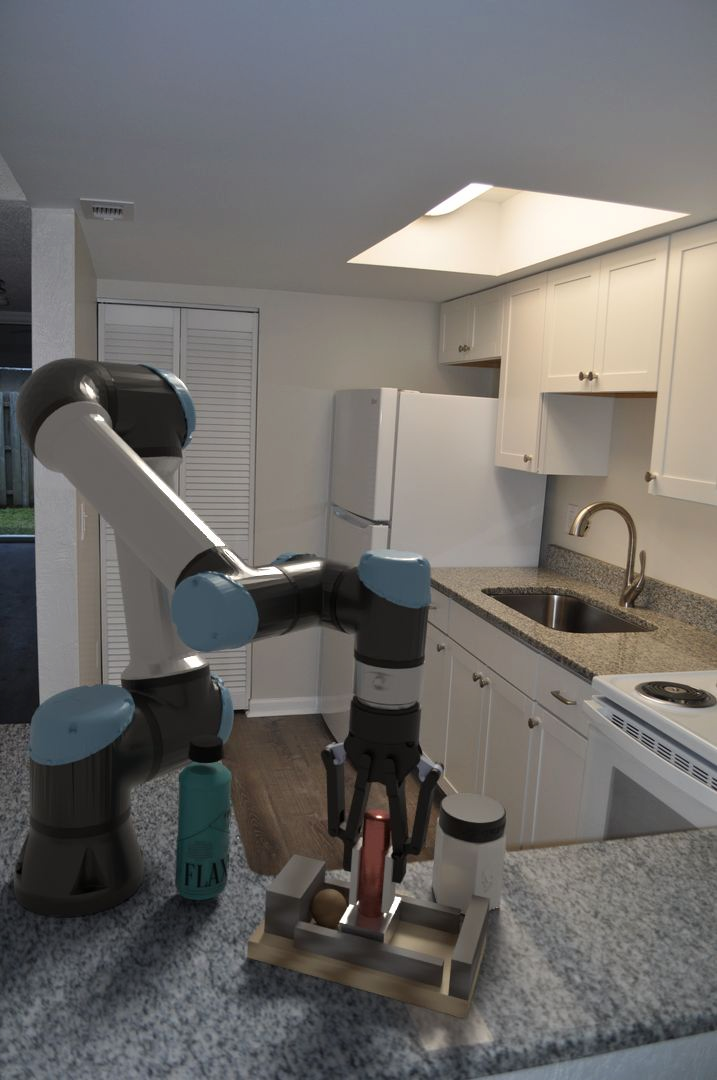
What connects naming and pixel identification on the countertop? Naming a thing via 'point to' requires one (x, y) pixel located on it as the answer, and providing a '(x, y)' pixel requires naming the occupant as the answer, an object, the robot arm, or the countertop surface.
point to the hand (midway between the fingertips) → (371, 901)
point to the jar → (469, 850)
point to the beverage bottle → (203, 821)
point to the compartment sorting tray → (374, 943)
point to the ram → (373, 884)
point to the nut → (328, 908)
